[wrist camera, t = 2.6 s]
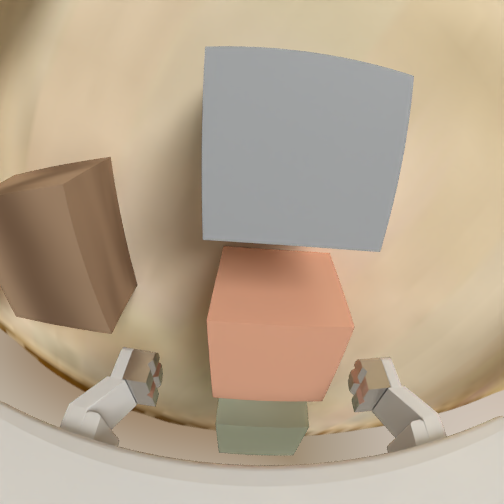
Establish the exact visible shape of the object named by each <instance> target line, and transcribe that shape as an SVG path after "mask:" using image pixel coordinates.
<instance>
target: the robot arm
mask: <svg viewBox="0 0 504 504" xmlns="http://www.w3.org/2000/svg"><path fill="white" fill-rule="evenodd" d="M159 358H160V357H159V354H158V353H156V352H150V351H144V350H138V349H132V348H126V347H123V348H122V349H121V351H120V354H119V356H118V358H117V361H116V363H115V366H114V368H113V371H112V373H111V376H110V377H108V376H107V377H105V378H104V379H103V380H101V381H100V382H98V383H97V384H96V385H94V386H93V387H92V388H90V389H89V390H87V391H86V392H85V393H83V394H82V395H81V396H79V397H78V398H76V399H75V400H74V401H72V402H71V403H69V406H68V408H67V410H66V413H65V415H64V418H63V420H62V423H61V425H60V428H59V427H56V426H54V425H51V424H49V423H47V422H44V421H42V420H39V419H37V418H35V417H33V416H30V415H28V414H26V413H24V412H22V411H20V410H18V409H16V408H14V407H12V406H10V405H8V404H6V403H4V402H1V401H0V504H504V417H502V416H499V417H496V418H493V419H491V420H489V421H487V422H485V423H482V424H480V425H477V426H475V427H472V428H470V429H467V430H464V431H462V432H459V433H456V434H453V435H451V436H448V437H447V436H446V433H445V430H444V427H443V424H442V421H441V419H440V416H439V414H438V413H437V412H436V411H434V410H433V409H432V408H431V407H430V406H428V405H427V404H426V403H425V402H424V401H422V400H421V399H420V398H419V397H417V396H416V395H415V394H414V393H413V392H411V391H410V390H409V389H408V388H407V387H405V386H402V385H401V383H400V380H399V377H398V375H397V372H396V370H395V367H394V364H393V362H392V359H391V358H390V357H384V358H370V359H358V360H357V361H356V362H355V364H354V366H355V369H354V370H352V371H351V373H350V375H349V380H348V386H349V391H350V392H351V393H352V394H353V395H354V396H353V398H352V404H353V408H354V412H363V411H372V412H373V413H374V414H375V416H376V417H377V418H378V419H379V420H380V421H381V422H382V423H383V425H384V426H385V427H386V428H387V429H388V430H389V431H390V432H391V434H392V435H393V436H394V437H395V439H394V440H393V441H392V442H391V443H390V444H389V445H388V446H387V450H388V453H385V454H380V455H375V456H369V457H364V458H358V459H351V460H344V461H335V462H326V463H316V464H300V465H267V466H266V465H264V466H263V465H233V464H219V463H208V462H198V461H190V460H183V459H176V458H170V457H164V456H158V455H153V454H148V453H143V452H139V451H134V450H130V449H125V448H122V447H118V444H119V440H118V438H117V437H116V435H115V434H114V433H113V432H112V430H111V429H112V428H113V427H114V426H116V424H118V423H119V422H120V421H121V420H122V419H123V418H124V417H125V416H126V415H127V414H128V413H129V412H130V411H131V410H132V409H133V408H134V407H135V406H136V405H137V404H143V405H149V406H156V402H157V399H158V395H159V393H158V390H157V388H158V387H159V386H161V383H162V377H163V369H162V365H161V364H160V363H159Z"/></svg>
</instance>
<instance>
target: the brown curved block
mask: <svg viewBox="0 0 504 504" xmlns="http://www.w3.org/2000/svg"><path fill="white" fill-rule="evenodd" d="M0 286H1V288H2V290H3V292H4V294H5V296H6V298H7V300H8V302H9V304H10V306H11V308H12V310H13V311H14V313H15V315H16V316H17V317H21V318H26V319H30V320H35V321H40V322H45V323H50V324H55V325H60V326H66V327H71V328H77V329H83V330H89V331H96V332H103V333H110V334H112V332H113V330H114V328H115V326H116V324H117V322H118V320H119V318H120V316H121V314H122V312H123V310H124V308H125V307H126V305H127V303H128V301H129V299H130V297H131V295H132V294H133V292H134V290H135V288H136V286H137V282H136V278H135V275H134V271H133V267H132V263H131V259H130V255H129V251H128V247H127V243H126V238H125V234H124V229H123V225H122V220H121V215H120V210H119V205H118V200H117V194H116V189H115V183H114V177H113V170H112V163H111V157H107V158H100V159H94V160H87V161H81V162H75V163H70V164H64V165H59V166H54V167H49V168H44V169H39V170H35V171H30V172H26V173H22V174H18V175H14V176H12V177H10V178H9V179H7V180H5V181H3V182H2V183H0Z"/></svg>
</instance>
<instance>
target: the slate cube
mask: <svg viewBox="0 0 504 504" xmlns="http://www.w3.org/2000/svg"><path fill="white" fill-rule="evenodd" d="M413 80H414V76H412V75H409V74H406V73H403V72H399V71H396V70H393V69H389V68H385V67H382V66H378V65H374V64H370V63H366V62H361V61H357V60H352V59H347V58H342V57H337V56H331V55H325V54H319V53H312V52H305V51H297V50H287V49H276V48H262V47H234V46H218V47H205V63H204V84H203V115H202V227H203V240H215V241H231V242H246V243H261V244H276V245H291V246H305V247H319V248H333V249H347V250H360V251H373V252H380V250H381V247H382V243H383V240H384V236H385V233H386V229H387V225H388V222H389V218H390V214H391V210H392V206H393V201H394V197H395V193H396V188H397V184H398V179H399V174H400V169H401V164H402V159H403V154H404V148H405V142H406V136H407V130H408V123H409V116H410V108H411V100H412V90H413Z"/></svg>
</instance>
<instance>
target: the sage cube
mask: <svg viewBox="0 0 504 504" xmlns="http://www.w3.org/2000/svg"><path fill="white" fill-rule="evenodd" d="M308 428H309V424H308V412H307V401H300V402H292V401H256V400H239V399H226V398H219V400H218V408H217V416H216V432H217V441H218V448H219V452H220V453H231V454H246V455H294V453H295V451H296V450H297V448H298V446H299V444H300V442H301V440H302V439H303V437H304V435H305V433H306V432H307V430H308Z"/></svg>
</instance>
